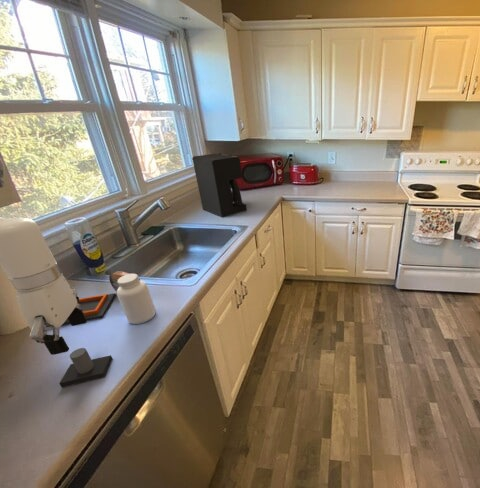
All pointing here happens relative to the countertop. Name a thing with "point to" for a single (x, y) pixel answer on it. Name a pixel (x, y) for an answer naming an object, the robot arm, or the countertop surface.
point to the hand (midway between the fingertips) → (70, 337)
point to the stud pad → (87, 376)
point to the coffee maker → (219, 183)
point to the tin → (116, 278)
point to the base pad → (93, 307)
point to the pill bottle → (135, 299)
